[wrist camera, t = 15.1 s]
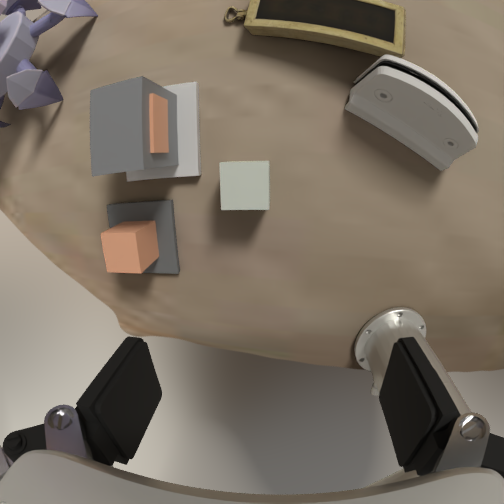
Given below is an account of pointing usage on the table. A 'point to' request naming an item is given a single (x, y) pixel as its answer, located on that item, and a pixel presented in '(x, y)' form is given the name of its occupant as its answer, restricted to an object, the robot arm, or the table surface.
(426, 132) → the white curved block
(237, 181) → the grey block
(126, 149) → the mounted unit
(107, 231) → the terracotta block
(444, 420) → the robot arm
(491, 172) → the table surface
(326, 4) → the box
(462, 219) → the table surface
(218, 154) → the table surface
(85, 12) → the robotic device
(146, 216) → the mat
